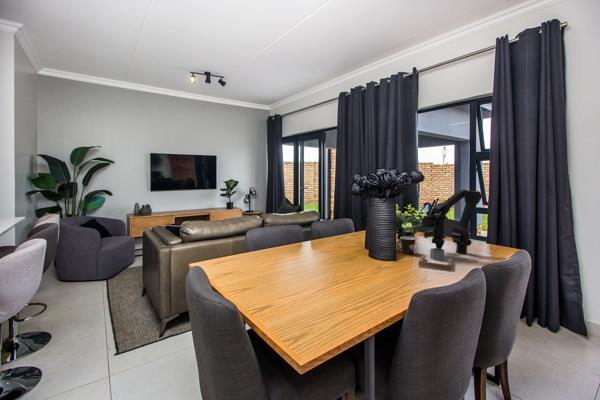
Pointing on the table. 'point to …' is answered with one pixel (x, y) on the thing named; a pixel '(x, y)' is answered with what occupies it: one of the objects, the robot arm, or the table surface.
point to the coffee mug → (407, 245)
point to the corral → (435, 264)
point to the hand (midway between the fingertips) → (438, 252)
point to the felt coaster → (459, 259)
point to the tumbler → (437, 254)
